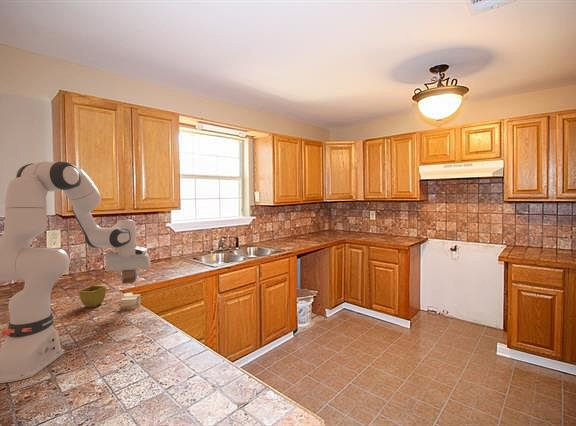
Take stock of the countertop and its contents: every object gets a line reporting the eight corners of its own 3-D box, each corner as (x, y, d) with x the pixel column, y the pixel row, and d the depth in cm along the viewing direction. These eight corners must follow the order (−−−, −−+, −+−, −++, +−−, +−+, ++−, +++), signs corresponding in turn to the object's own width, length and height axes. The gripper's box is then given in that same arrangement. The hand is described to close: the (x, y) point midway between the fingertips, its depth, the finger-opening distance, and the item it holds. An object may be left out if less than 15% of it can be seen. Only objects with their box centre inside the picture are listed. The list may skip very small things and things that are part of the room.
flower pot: (93, 309, 152) (92, 291, 151) (79, 308, 154) (77, 290, 153) (107, 302, 161) (106, 286, 160) (93, 301, 162) (92, 285, 162)
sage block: (132, 302, 162) (132, 294, 161) (124, 303, 160) (123, 295, 160) (132, 299, 165) (132, 292, 165) (124, 300, 163) (123, 293, 163)
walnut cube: (133, 282, 153) (132, 271, 152) (122, 283, 152) (122, 271, 151) (136, 280, 158) (135, 268, 157) (125, 280, 157) (125, 269, 156)
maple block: (135, 308, 152) (134, 299, 152) (120, 309, 152) (120, 299, 151) (140, 303, 159) (140, 294, 159) (127, 304, 159) (126, 294, 158)
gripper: (102, 253, 148) (104, 281, 149) (147, 250, 152) (149, 278, 153) (107, 250, 154) (109, 277, 155) (150, 248, 158) (152, 274, 159)
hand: (129, 277), depth 154 cm, fingers closed on walnut cube, 5 cm apart
